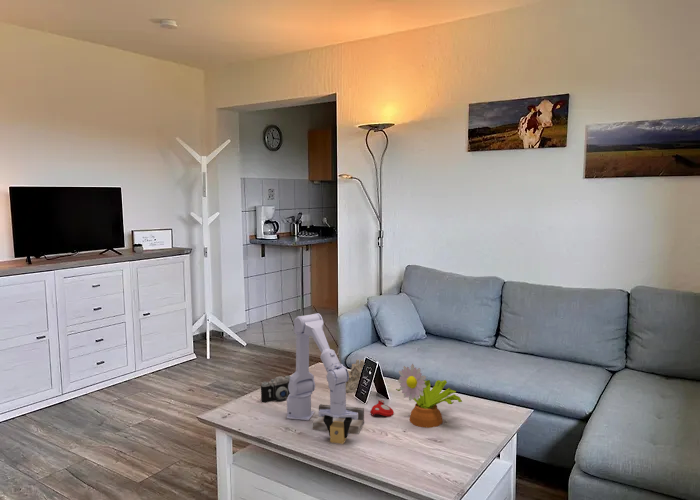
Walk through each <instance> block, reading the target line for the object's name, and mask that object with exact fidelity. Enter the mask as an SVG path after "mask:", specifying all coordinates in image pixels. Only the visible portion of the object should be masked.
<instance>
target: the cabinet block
mask: <svg viewBox="0 0 700 500" xmlns="http://www.w3.org/2000/svg"><path fill="white" fill-rule="evenodd" d="M344 432H345V430H344V422H340V421H333V423H332V424H331V426H330V435H329V438H330V439H329V443H332V444H341V445H344V444H345V442H346V440H347V438H348V437H347V438H345V437H344Z"/></svg>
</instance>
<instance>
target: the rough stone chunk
mask: <svg viewBox="0 0 700 500" xmlns="http://www.w3.org/2000/svg"><path fill="white" fill-rule="evenodd" d="M363 365H365V361H364V359H356V361H355V363H352V364H351V370H349V371H348V370H347V371H348V373H349V380H348V381H347V382H345V383H346V394H347V393H348V394H349V393H350V394H353V392H354V394H355V392H356V389H357V386H358V382H359V379H360V375H361V371H362V368H363Z"/></svg>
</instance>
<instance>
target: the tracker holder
mask: <svg viewBox="0 0 700 500" xmlns="http://www.w3.org/2000/svg"><path fill="white" fill-rule="evenodd" d="M377 402H378V403H376V404H374V405H373V406H372V407H371V409H370V411H369V413H370V414H371V416H375V415H381V416H384V417H389V418H390V417H392V416H393V415H394V413H395V412H394V410H393V408H391V407H390V406H389V405H387V404H385V401H384V400H383V399H379V398H378V399H377Z"/></svg>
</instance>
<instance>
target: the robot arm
mask: <svg viewBox="0 0 700 500" xmlns="http://www.w3.org/2000/svg"><path fill="white" fill-rule="evenodd" d="M293 320H294V321H293V331H294V332H293V333H294V334H295V371H294V373H292V374H291V375H289V376H290V381H289V385H288V389H289V393H290V394H289V395H288V398H286V419H291V420H292V419H293V420H298V421H299V420H302V421H310V419H311V418H312V417H313V415H314V414H315V411H313V410H312V397H311V396H312V395H313V392H314V391H315V389H316V382H315V376H314V374H313V373H312V372H310V370H309V369H310V337H311V338H312V339H313V342H315V344H316V345H317V348H318V349H319V351H320V353H321V354H320V360H321V362H322V364H323V366H324V369H325V372H326V375H325V376H326V381H327V383H328V386H327V387H328V390H329V397H330V398H329V403H330V404H329V405H330V409H320V410H319V409H318V417H319V416H320V417H321V416H324V419H323V421H324V423H325V424H326V426H327V429H328V431H327V432H328V435H329V436H330V426H331V424H332V423H333V418H345V420H344V430H345V432H344V437H345V438H348V436H349V433H348V431H349V427H350V424H351V422H352V419H354V420H357V419H358V413H356V412H352V411H348V410H346V407H347V393H346V383H345V382H347V381H348V380H349V373H348V369H347V367H345V366H344V364H343V363H341V362H340V359H339V358H338V355H337V354H336V351H335V350H334V349H332V348H330V345H329V342H328V340H327V337H326V334H325V331H324V325H325V323H324V322H325V321H324V319H323V317H322V315H321V314H320V313H318V312H316V313H312V314H306V315H297V316H296V317H295V318H294V319H293Z"/></svg>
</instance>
